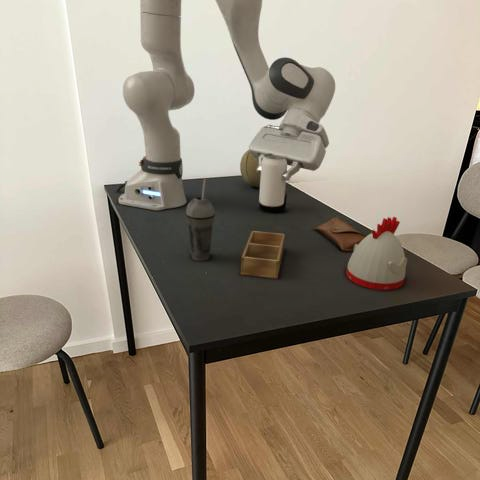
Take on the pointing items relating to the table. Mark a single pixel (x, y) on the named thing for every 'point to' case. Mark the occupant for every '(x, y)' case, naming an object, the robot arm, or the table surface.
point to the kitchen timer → (379, 259)
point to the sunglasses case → (341, 234)
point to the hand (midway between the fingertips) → (272, 176)
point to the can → (272, 180)
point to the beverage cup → (200, 226)
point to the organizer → (263, 254)
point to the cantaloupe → (250, 169)
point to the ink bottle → (275, 209)
